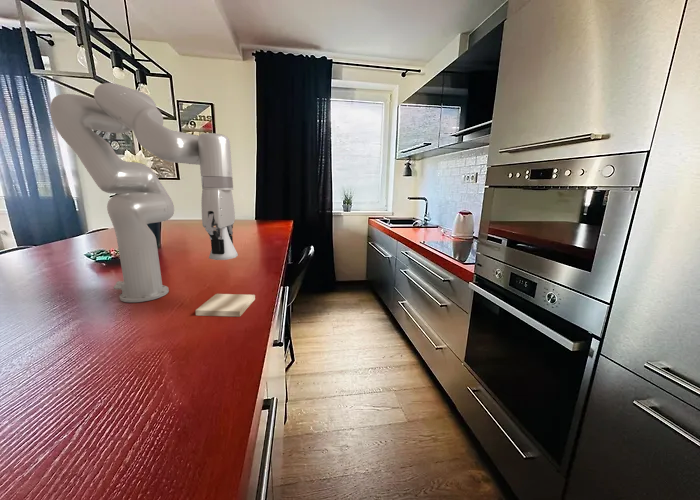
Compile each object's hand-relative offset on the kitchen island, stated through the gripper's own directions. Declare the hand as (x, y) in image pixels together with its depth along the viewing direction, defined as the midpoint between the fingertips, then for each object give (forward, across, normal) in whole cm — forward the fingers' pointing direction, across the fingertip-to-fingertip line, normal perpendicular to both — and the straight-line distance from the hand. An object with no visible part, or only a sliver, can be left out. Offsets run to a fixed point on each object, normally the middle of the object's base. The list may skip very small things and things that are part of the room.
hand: (223, 250), depth 81 cm
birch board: (+17, 0, 0) cm, 17 cm away
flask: (+2, 0, 0) cm, 2 cm away
